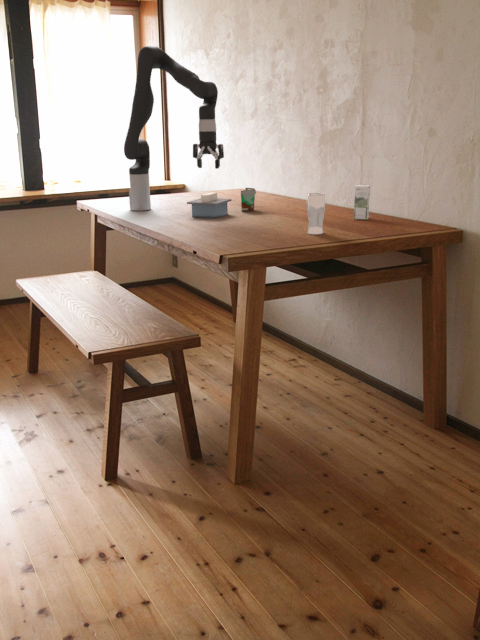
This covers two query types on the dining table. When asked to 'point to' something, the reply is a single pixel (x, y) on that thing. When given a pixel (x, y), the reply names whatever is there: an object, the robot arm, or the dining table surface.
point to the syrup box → (361, 202)
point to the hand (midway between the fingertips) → (208, 168)
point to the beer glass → (315, 212)
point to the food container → (248, 199)
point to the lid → (209, 200)
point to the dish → (209, 210)
